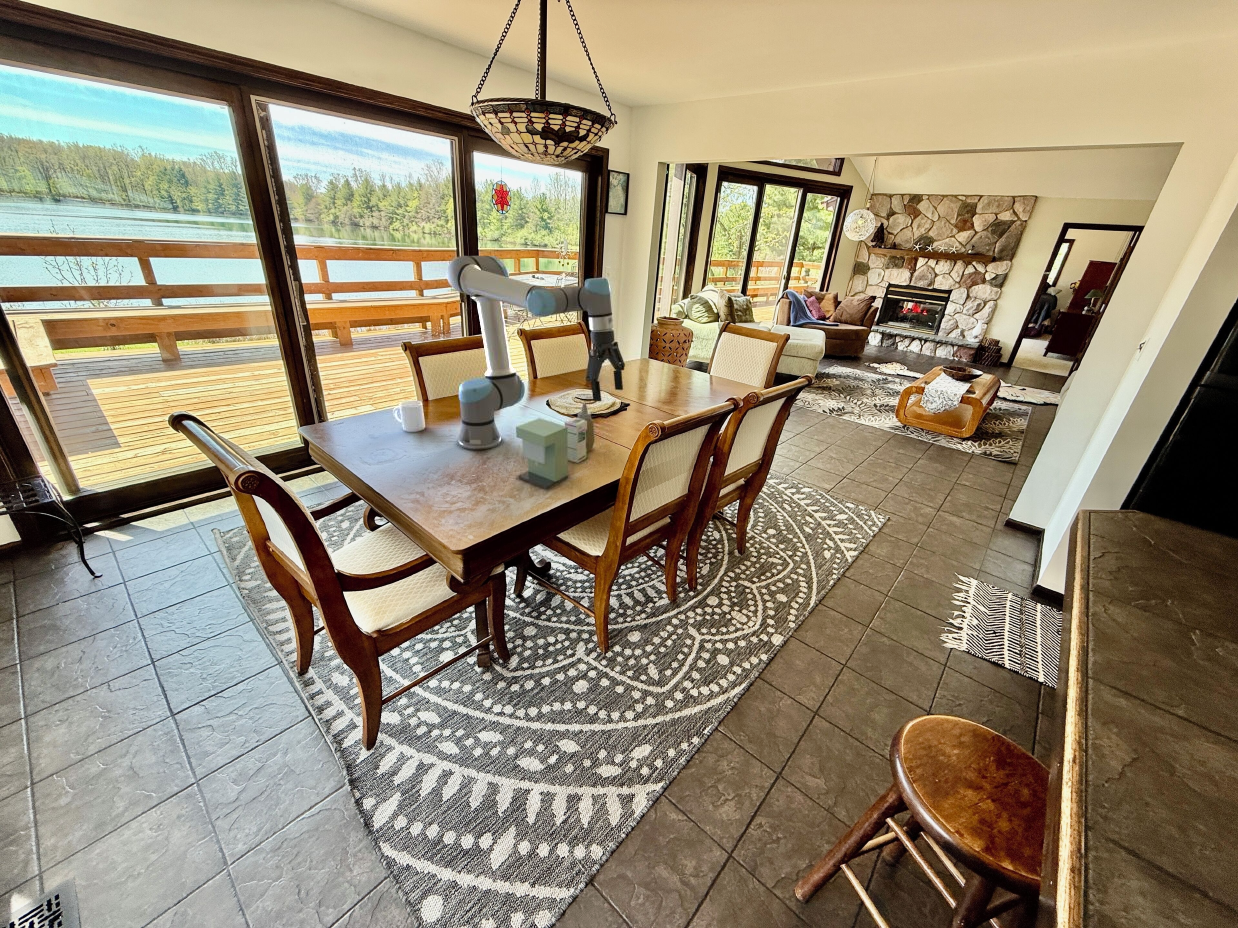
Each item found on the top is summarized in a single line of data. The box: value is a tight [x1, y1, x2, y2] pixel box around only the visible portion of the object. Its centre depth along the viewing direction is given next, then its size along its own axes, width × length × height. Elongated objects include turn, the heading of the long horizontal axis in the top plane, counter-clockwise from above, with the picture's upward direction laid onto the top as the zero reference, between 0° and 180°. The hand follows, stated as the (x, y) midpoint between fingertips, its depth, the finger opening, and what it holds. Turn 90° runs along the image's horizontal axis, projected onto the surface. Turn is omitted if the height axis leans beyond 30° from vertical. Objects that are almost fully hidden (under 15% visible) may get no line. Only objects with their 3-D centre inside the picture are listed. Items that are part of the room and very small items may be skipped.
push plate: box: [521, 439, 546, 464], centre depth 149 cm, size 1×9×6 cm, turn 56°
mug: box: [392, 400, 426, 433], centre depth 188 cm, size 12×8×10 cm
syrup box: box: [564, 416, 588, 464], centre depth 169 cm, size 6×6×14 cm
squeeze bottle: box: [577, 402, 596, 453], centre depth 175 cm, size 8×8×18 cm
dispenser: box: [515, 417, 569, 490], centre depth 153 cm, size 10×12×18 cm
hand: (608, 395), depth 160 cm, fingers open, 13 cm apart
